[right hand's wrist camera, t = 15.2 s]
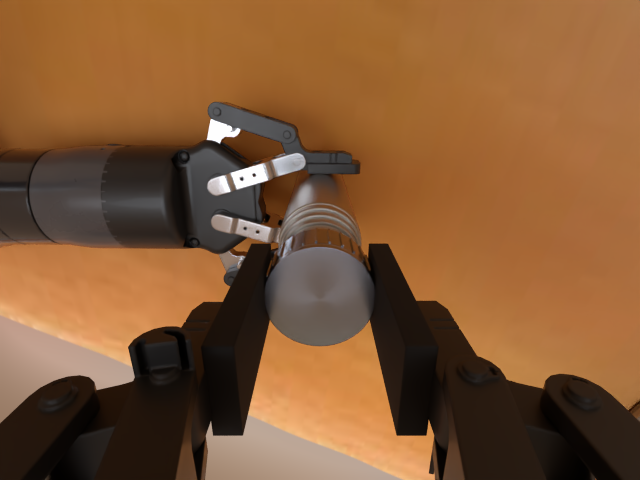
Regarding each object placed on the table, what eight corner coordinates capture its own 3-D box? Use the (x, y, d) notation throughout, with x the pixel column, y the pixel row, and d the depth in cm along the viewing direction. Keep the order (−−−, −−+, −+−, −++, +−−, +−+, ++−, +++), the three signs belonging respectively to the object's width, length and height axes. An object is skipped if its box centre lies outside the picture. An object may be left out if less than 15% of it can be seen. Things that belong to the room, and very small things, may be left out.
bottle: (329, 150, 32) (344, 219, 12) (350, 191, 33) (395, 312, 14) (288, 172, 32) (241, 271, 13) (310, 211, 34) (298, 356, 14)
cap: (248, 258, 14) (238, 280, 12) (339, 207, 14) (342, 223, 12) (302, 334, 16) (300, 364, 14) (388, 291, 15) (397, 317, 13)
